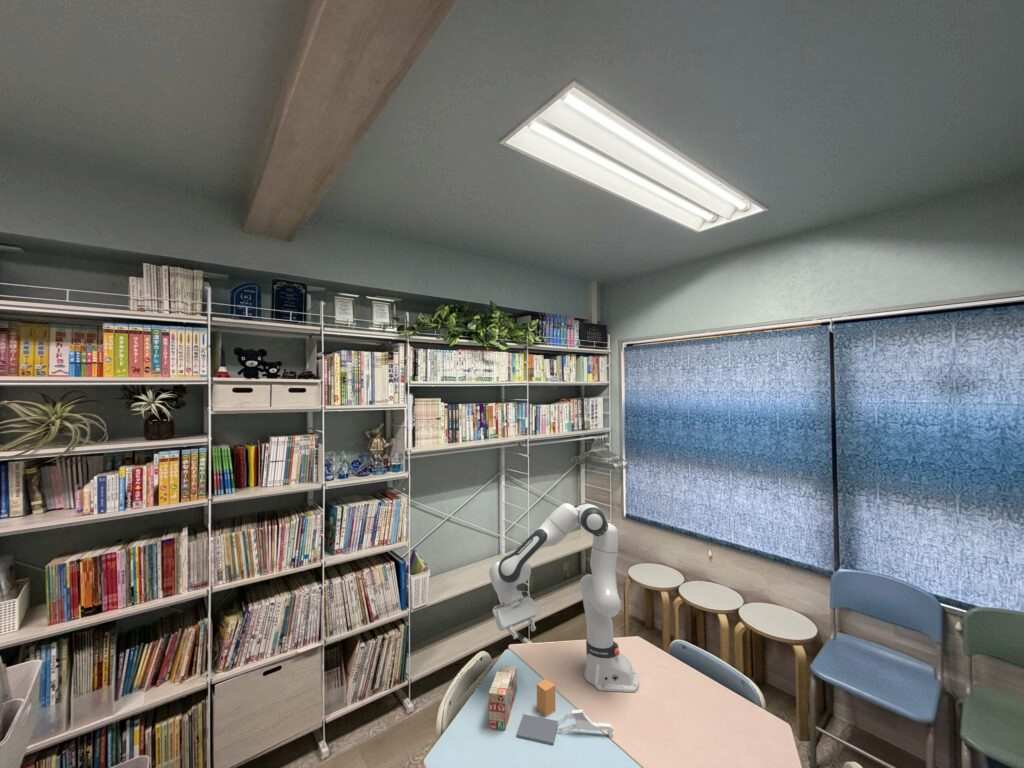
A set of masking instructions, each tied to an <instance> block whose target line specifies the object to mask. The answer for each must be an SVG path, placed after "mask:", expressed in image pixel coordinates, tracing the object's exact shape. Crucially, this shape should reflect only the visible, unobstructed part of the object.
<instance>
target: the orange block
mask: <svg viewBox="0 0 1024 768" xmlns="http://www.w3.org/2000/svg"><path fill="white" fill-rule="evenodd" d="M536 710H537V711H538V712H539V713H541V714H542V715H543V716H544V718H545V717H549V715H551V714H552V713H554V712H555V711H556V684H554V683H553V682H551V681H550V680H548V679H547V678H545V679H543V680H541V681H539V682H538V683H536Z"/></svg>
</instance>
